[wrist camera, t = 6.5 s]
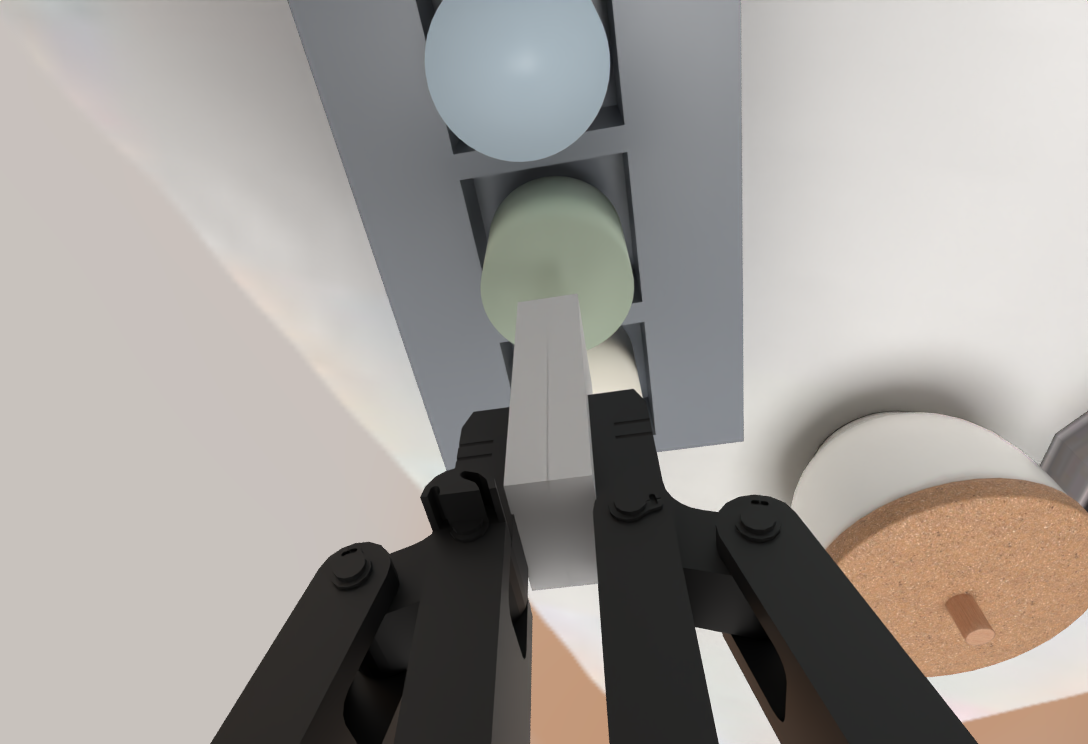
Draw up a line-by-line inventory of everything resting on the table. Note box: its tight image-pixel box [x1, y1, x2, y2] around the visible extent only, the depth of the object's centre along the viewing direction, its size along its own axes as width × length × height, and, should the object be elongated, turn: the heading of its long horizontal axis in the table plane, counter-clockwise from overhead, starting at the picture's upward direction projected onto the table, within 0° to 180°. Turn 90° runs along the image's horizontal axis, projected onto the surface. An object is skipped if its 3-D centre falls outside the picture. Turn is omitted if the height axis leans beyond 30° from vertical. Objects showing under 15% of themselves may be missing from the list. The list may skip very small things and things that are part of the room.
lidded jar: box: [791, 411, 1088, 677], centre depth 28 cm, size 11×11×9 cm
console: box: [288, 0, 744, 470], centre depth 22 cm, size 25×12×4 cm, turn 10°
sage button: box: [481, 176, 634, 350], centre depth 21 cm, size 4×4×4 cm
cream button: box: [587, 326, 643, 398], centre depth 26 cm, size 4×4×4 cm
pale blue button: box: [425, 0, 610, 162], centre depth 18 cm, size 4×4×4 cm
